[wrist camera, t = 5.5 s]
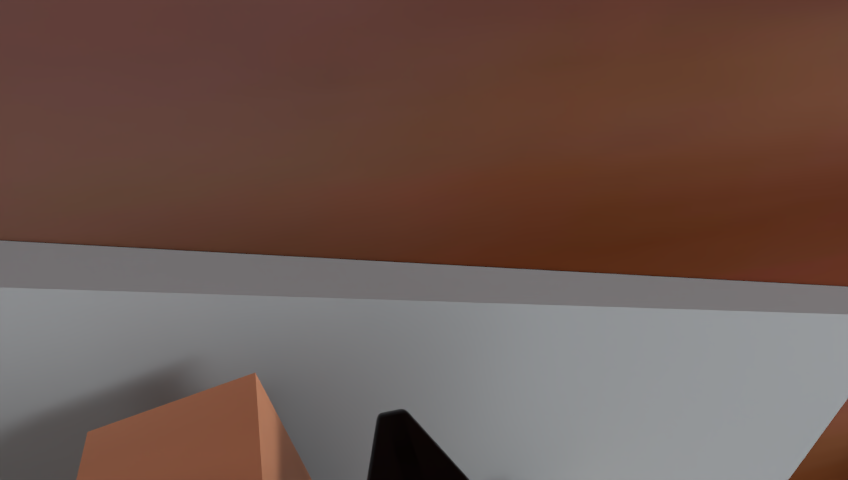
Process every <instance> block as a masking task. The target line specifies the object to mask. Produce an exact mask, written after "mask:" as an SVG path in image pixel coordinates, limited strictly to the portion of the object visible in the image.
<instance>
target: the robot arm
mask: <svg viewBox="0 0 848 480" xmlns="http://www.w3.org/2000/svg"><path fill="white" fill-rule="evenodd" d="M367 480H470V479H469V478H468V477H467V476H466V475H465V474H464V473H463V472H462V471H461V470H460V468H459V467H458V466H457V465H456V464H455V463H454V462H453V461H452V460H451V459H450V457H449V456H448V455H447V454H446V453H445V452H444V451H443V450H442V449H441V447H440V446H439V445H438V444H437V443H436V442H435V441H434V440H433V439H432V438H431V436H430V435H429V434H428V433H427V432H426V431H425V430H424V429H423V428H422V426H421V425H420V424H419V423H418V422H417V421H416V420H415V419H414V418H413V417H412V415H411V414H410V413H409V412H408V411H406V410H405V409H397V410H392V411H387V412H382V413H380V414H378V416H377V420H376V425H375V432H374V438H373V444H372V451H371V457H370V463H369V469H368V476H367Z"/></svg>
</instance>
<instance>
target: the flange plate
mask: <svg viewBox="0 0 848 480" xmlns="http://www.w3.org/2000/svg"><path fill="white" fill-rule="evenodd" d="M76 480H312V479H311V477H310V475H309V473H308V471H307V470H306V468H305V466H304V464H303V462H302V460H301V458H300V456H299V454H298V452H297V451H296V449H295V447H294V445H293V443H292V441H291V439H290V437H289V435H288V434H287V432H286V430H285V428H284V426H283V424H282V422H281V420H280V418H279V416H278V415H277V413H276V411H275V409H274V407H273V405H272V403H271V401H270V399H269V397H268V396H267V394H266V392H265V390H264V388H263V386H262V384H261V382H260V380H259V378H258V377H257V375H256V373H252V374H250V375H247V376H244V377H241V378H238V379H235V380H233V381H230V382H227V383H224V384H221V385H218V386H216V387H213V388H210V389H207V390H204V391H202V392H199V393H196V394H193V395H190V396H187V397H185V398H182V399H179V400H176V401H173V402H170V403H168V404H165V405H162V406H159V407H156V408H154V409H151V410H148V411H145V412H142V413H139V414H137V415H134V416H131V417H128V418H125V419H122V420H120V421H117V422H114V423H111V424H108V425H106V426H103V427H100V428H97V429H94V430H91V431H89V432H87V436H86V440H85V445H84V449H83V453H82V457H81V462H80V466H79V470H78V474H77V479H76Z"/></svg>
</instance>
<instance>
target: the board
mask: <svg viewBox="0 0 848 480" xmlns="http://www.w3.org/2000/svg"><path fill="white" fill-rule="evenodd" d="M252 373H256V375H257V377H258V378H259V380H260V382H261V384H262V386H263V388H264V390H265V392H266V394H267V396H268V397H269V399H270V401H271V403H272V405H273V407H274V409H275V411H276V413H277V415H278V416H279V418H280V420H281V422H282V424H283V426H284V428H285V430H286V432H287V434H288V435H289V437H290V439H291V441H292V443H293V445H294V447H295V449H296V451H297V452H298V454H299V456H300V458H301V460H302V462H303V464H304V466H305V468H306V470H307V471H308V473H309V475H310V477H311V479H312V480H367V476H368V469H369V463H370V457H371V451H372V444H373V438H374V432H375V425H376V420H377V416H378V414H380V413H382V412H387V411H392V410H397V409H405V410H406V411H408V412H409V413H410V414H411V415H412V417H413V418H414V419H415V420H416V421H417V422H418V423H419V424H420V425H421V426H422V428H423V429H424V430H425V431H426V432H427V433H428V434H429V435H430V436H431V438H432V439H433V440H434V441H435V442H436V443H437V444H438V445H439V446H440V447H441V449H442V450H443V451H444V452H445V453H446V454H447V455H448V456H449V457H450V459H451V460H452V461H453V462H454V463H455V464H456V465H457V466H458V467H459V468H460V470H461V471H462V472H463V473H464V474H465V475H466V476H467V477H468V478H469V479H470V480H788V479H789V478H790V477H791V475H792V474H793V473H794V471H795V470H796V468H797V467H798V466H799V464H800V463H801V462H802V460H803V459H804V457H805V456H806V455H807V453H808V452H809V451H810V449H811V448H812V447H813V445H814V444H815V442H816V441H817V440H818V438H819V437H820V436H821V434H822V433H823V431H824V430H825V429H826V427H827V426H828V425H829V423H830V422H831V420H832V419H833V418H834V416H835V415H836V414H837V412H838V411H839V409H840V408H841V407H842V405H843V404H844V403H845V401H846V400H847V398H848V287H843V286H825V285H806V284H788V283H770V282H751V281H733V280H715V279H696V278H678V277H659V276H641V275H623V274H604V273H586V272H568V271H549V270H531V269H513V268H494V267H476V266H458V265H439V264H421V263H403V262H384V261H366V260H348V259H329V258H311V257H292V256H274V255H256V254H237V253H219V252H201V251H182V250H164V249H146V248H127V247H109V246H91V245H72V244H54V243H36V242H17V241H0V480H76V479H77V474H78V470H79V466H80V462H81V457H82V453H83V449H84V445H85V440H86V436H87V432H89V431H91V430H94V429H97V428H100V427H103V426H106V425H108V424H111V423H114V422H117V421H120V420H122V419H125V418H128V417H131V416H134V415H137V414H139V413H142V412H145V411H148V410H151V409H154V408H156V407H159V406H162V405H165V404H168V403H170V402H173V401H176V400H179V399H182V398H185V397H187V396H190V395H193V394H196V393H199V392H202V391H204V390H207V389H210V388H213V387H216V386H218V385H221V384H224V383H227V382H230V381H233V380H235V379H238V378H241V377H244V376H247V375H250V374H252Z"/></svg>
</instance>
